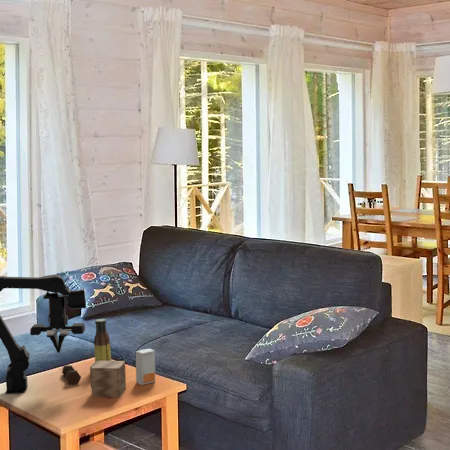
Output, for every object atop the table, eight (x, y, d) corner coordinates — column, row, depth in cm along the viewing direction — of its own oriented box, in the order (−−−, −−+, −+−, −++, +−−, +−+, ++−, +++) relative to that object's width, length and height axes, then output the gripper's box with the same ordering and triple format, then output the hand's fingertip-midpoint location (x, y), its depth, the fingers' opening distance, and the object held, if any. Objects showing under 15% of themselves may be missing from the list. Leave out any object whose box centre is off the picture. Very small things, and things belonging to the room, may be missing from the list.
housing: (90, 396, 256) (89, 367, 255) (97, 388, 265) (96, 360, 264) (119, 397, 255) (119, 368, 254) (125, 388, 264) (125, 360, 263)
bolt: (69, 378, 284) (75, 388, 270) (57, 373, 282) (63, 383, 268) (76, 364, 284) (83, 373, 270) (64, 359, 282) (70, 368, 269)
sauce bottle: (106, 365, 292) (104, 317, 290) (114, 369, 288) (113, 319, 286) (91, 369, 288) (90, 319, 286) (99, 372, 284) (98, 322, 281)
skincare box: (142, 385, 267) (141, 353, 266) (135, 382, 270) (135, 351, 269) (156, 381, 271) (155, 350, 270) (149, 379, 274) (148, 348, 273)
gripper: (86, 304, 272) (87, 345, 274) (35, 305, 271) (37, 347, 273) (81, 311, 261) (83, 354, 263) (29, 312, 260) (30, 355, 262)
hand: (58, 352), depth 265 cm, fingers closed
